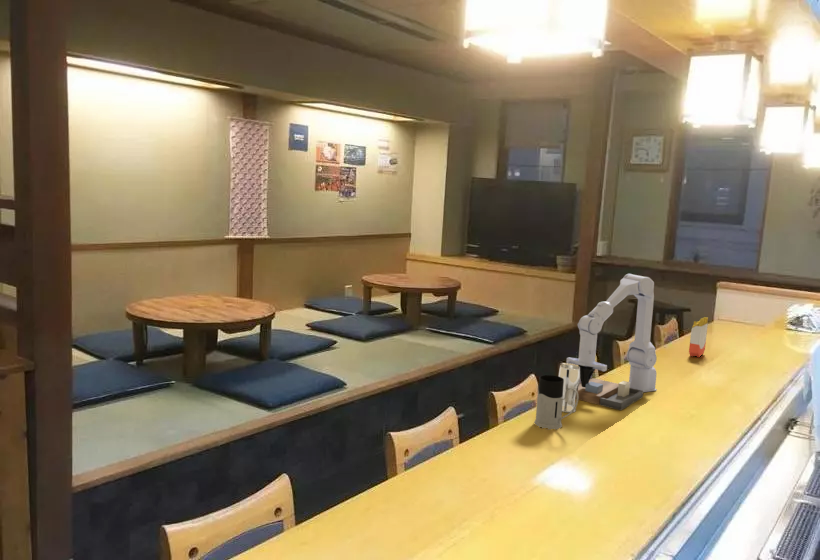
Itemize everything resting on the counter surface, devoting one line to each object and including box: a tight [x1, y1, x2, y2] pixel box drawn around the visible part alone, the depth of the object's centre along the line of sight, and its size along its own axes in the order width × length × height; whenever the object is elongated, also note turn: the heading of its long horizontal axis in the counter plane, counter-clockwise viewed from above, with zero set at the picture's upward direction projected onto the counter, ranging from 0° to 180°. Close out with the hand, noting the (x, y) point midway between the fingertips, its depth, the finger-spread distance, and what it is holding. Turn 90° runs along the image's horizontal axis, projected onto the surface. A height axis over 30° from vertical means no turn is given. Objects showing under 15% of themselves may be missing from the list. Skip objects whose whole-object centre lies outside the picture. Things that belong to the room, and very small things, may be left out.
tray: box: [599, 388, 644, 411], centre depth 243 cm, size 8×20×2 cm, turn 141°
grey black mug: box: [533, 374, 579, 430], centre depth 213 cm, size 9×14×15 cm, turn 44°
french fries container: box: [688, 316, 709, 358], centre depth 314 cm, size 5×11×18 cm, turn 142°
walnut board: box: [576, 377, 618, 406], centre depth 249 cm, size 12×20×3 cm, turn 141°
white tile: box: [617, 380, 630, 397], centre depth 247 cm, size 4×4×2 cm
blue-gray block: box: [585, 382, 603, 394], centre depth 243 cm, size 4×4×2 cm
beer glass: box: [558, 363, 581, 414], centre depth 230 cm, size 7×7×15 cm
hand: (584, 386), depth 246 cm, fingers closed
